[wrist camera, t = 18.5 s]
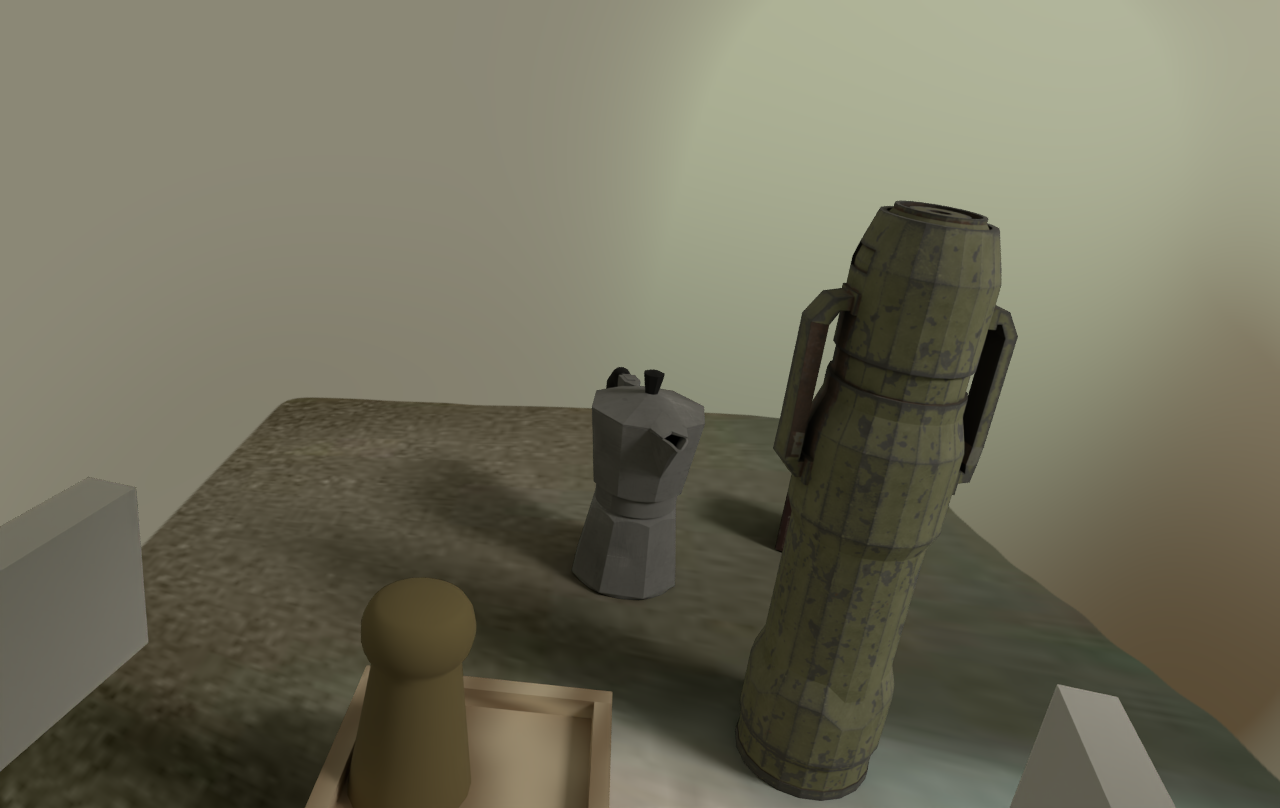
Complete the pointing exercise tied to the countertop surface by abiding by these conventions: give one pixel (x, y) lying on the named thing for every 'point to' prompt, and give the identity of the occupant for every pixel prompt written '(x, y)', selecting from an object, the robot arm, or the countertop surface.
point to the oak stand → (508, 747)
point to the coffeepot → (636, 485)
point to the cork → (414, 698)
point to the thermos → (870, 484)
